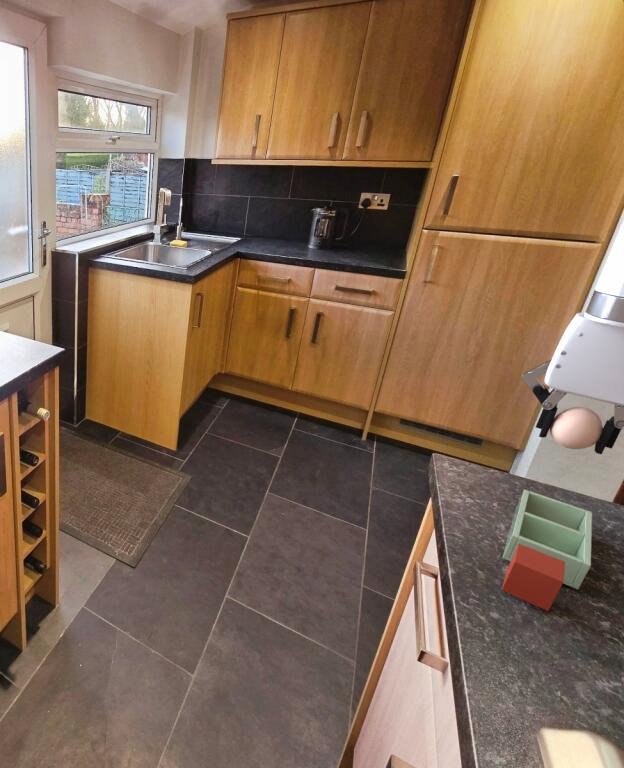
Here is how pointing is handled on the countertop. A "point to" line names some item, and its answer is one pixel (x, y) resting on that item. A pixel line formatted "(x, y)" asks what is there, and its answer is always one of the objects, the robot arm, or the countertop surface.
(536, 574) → the block
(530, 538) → the tray
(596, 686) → the countertop surface
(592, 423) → the egg
